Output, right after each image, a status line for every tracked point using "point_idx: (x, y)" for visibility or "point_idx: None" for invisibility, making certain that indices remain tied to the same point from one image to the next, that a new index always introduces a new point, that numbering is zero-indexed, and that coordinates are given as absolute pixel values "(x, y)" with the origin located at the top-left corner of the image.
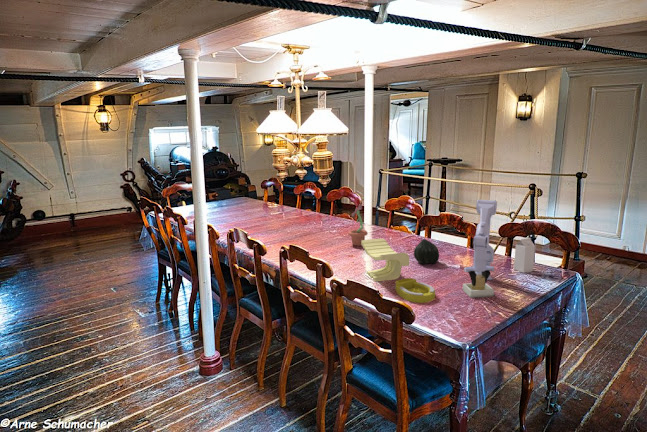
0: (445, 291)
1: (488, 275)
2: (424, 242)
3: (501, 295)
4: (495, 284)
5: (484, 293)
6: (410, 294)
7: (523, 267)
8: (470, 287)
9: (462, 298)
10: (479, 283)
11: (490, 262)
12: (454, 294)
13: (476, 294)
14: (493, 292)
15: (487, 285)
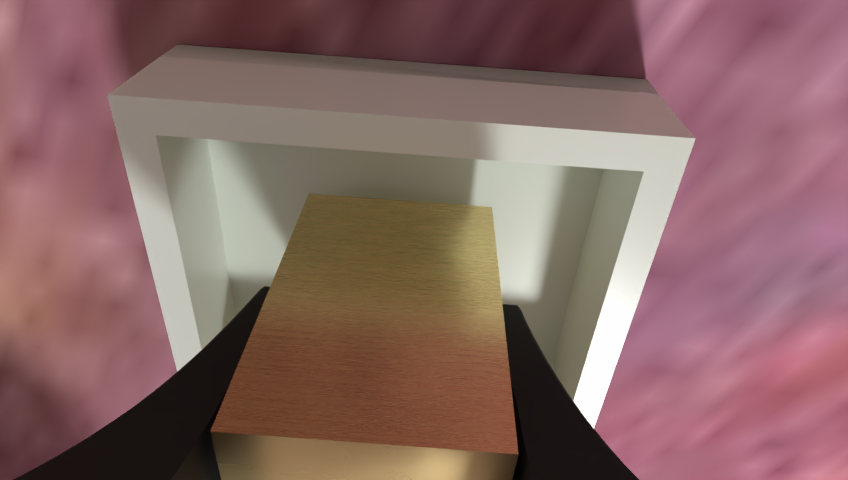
0: (842, 368)
1: (59, 478)
2: None
3: (10, 60)
4: (30, 414)
5: (358, 83)
6: None
7: None
8: None
9: (821, 80)
10: (406, 310)
11: None
12: (808, 258)
13: (538, 92)
14: (147, 72)
15: (185, 314)
